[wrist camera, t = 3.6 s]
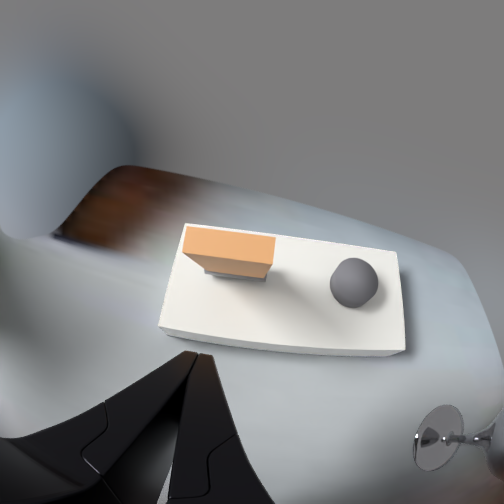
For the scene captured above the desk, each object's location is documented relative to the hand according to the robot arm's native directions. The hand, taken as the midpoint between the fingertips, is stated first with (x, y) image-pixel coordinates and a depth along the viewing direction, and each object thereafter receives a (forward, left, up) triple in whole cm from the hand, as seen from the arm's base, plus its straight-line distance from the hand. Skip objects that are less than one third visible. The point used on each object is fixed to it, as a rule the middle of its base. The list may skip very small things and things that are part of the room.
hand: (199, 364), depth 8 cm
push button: (-5, -11, -10) cm, 16 cm away
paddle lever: (+3, -7, -9) cm, 12 cm away
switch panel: (-1, -9, -14) cm, 16 cm away
